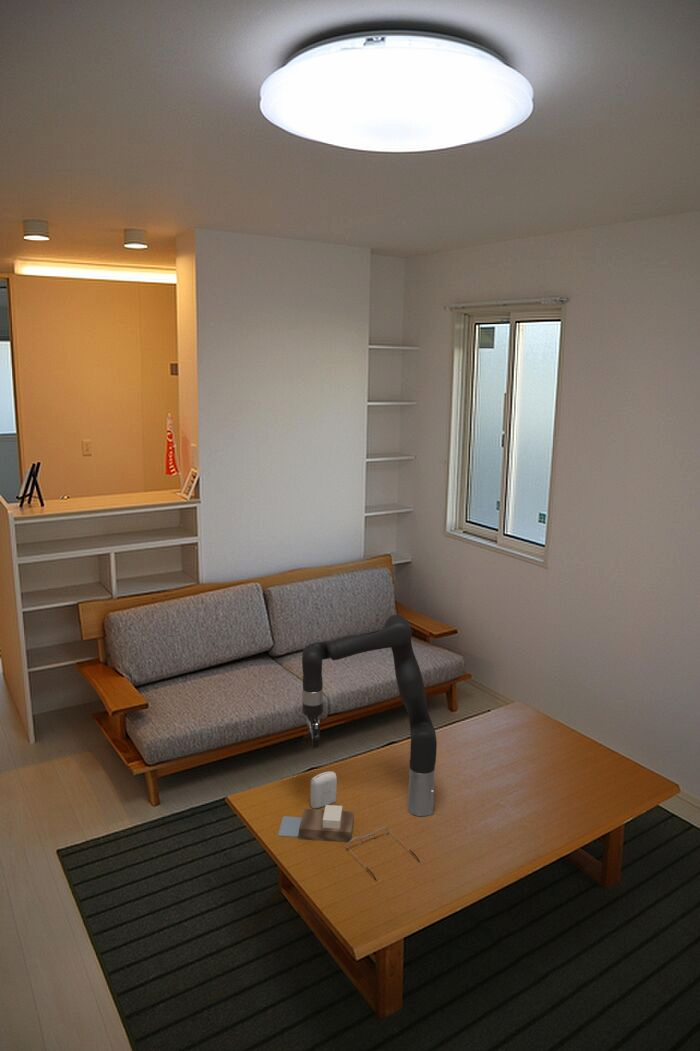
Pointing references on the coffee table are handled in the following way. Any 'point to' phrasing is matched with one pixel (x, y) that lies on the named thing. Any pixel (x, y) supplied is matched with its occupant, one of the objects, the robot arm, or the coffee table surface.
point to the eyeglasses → (376, 838)
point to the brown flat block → (314, 828)
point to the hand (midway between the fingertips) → (313, 741)
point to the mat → (290, 826)
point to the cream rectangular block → (332, 816)
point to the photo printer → (323, 789)
